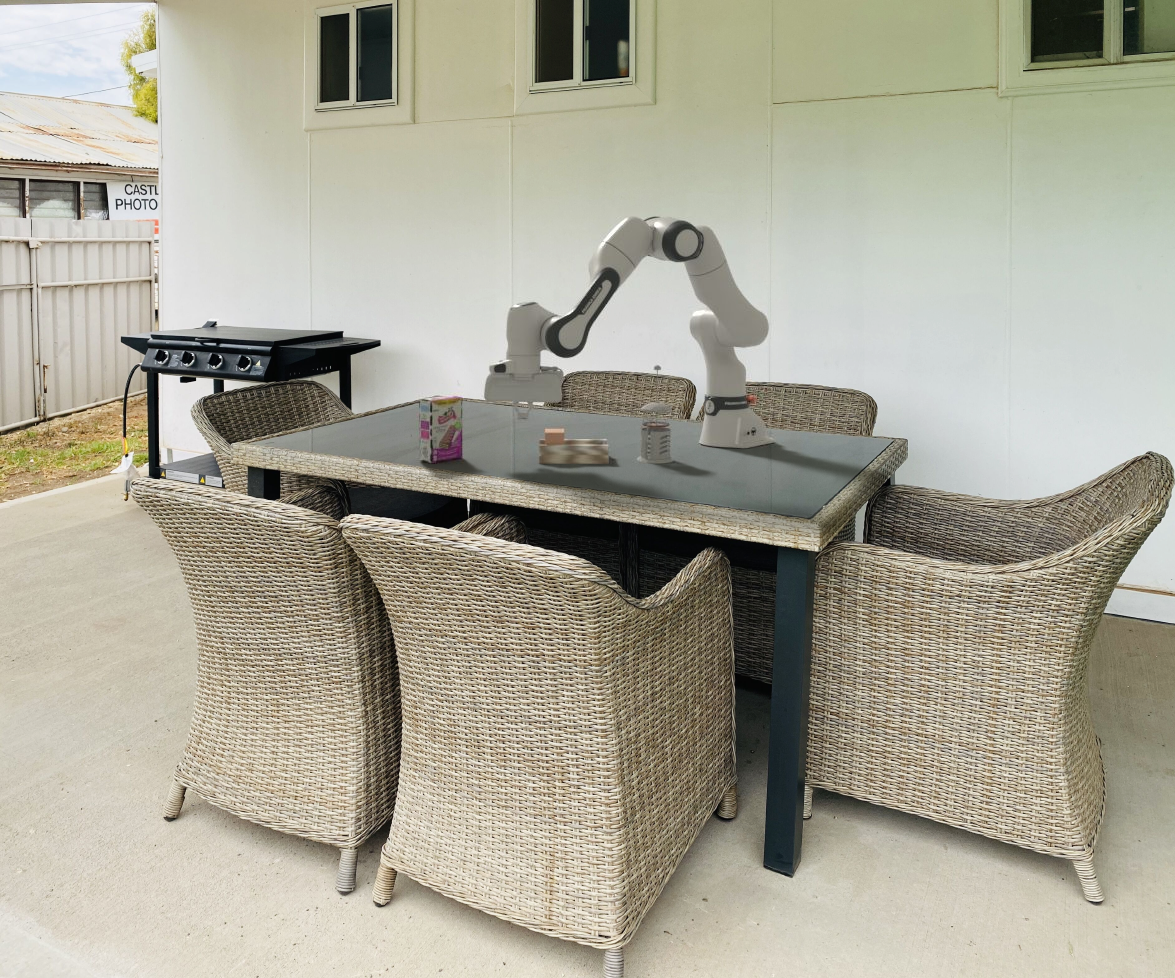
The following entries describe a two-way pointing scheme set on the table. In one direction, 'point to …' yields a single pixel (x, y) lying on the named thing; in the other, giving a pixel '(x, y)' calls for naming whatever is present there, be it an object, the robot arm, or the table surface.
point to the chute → (575, 452)
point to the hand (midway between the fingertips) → (523, 419)
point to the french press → (655, 434)
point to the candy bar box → (440, 428)
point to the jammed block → (554, 436)
